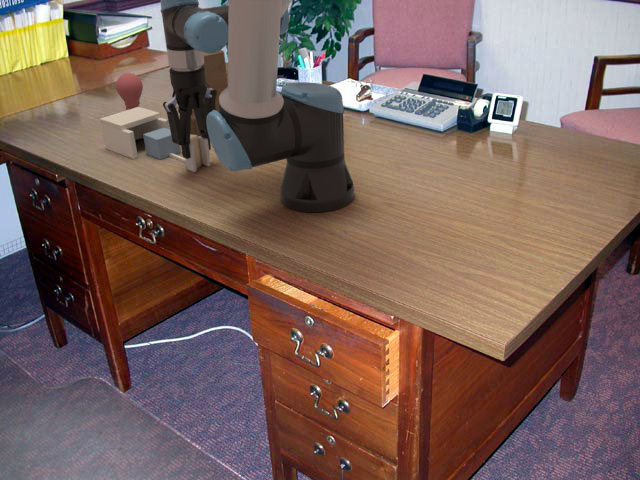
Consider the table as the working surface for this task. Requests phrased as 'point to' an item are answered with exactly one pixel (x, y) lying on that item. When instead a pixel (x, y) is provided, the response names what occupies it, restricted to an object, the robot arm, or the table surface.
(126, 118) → the shelf lane
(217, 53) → the decorative block
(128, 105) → the light bulb
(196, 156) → the tethered block
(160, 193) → the table surface
